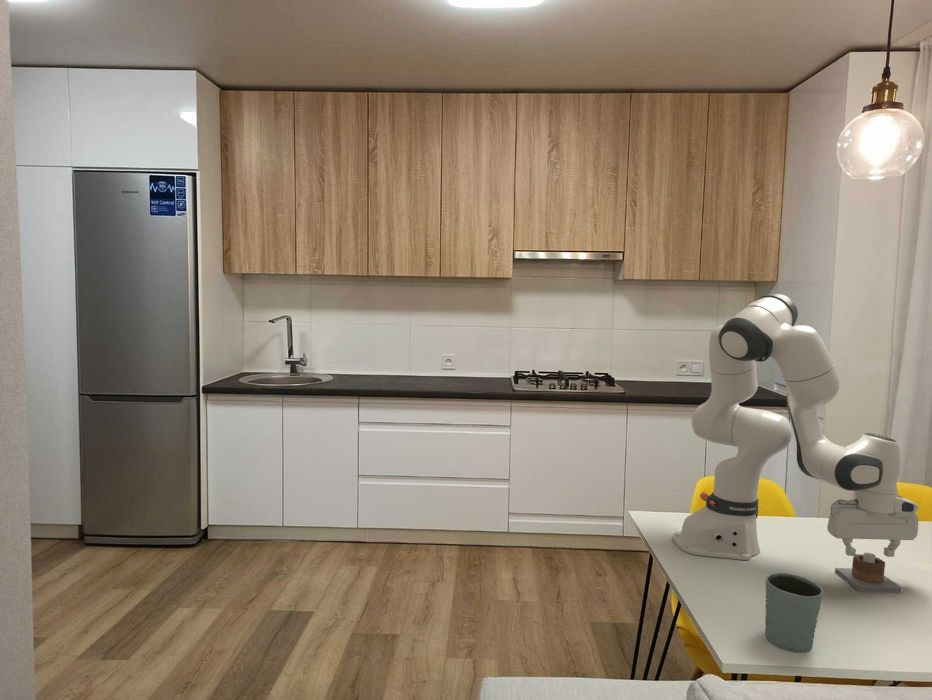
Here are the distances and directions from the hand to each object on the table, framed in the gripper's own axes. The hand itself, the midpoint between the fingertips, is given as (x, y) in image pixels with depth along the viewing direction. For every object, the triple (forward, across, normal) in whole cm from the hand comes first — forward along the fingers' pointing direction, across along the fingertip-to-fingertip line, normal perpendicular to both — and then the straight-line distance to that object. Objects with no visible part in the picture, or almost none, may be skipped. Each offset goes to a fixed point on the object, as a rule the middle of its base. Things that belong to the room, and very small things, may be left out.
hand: (869, 555), depth 155 cm
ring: (+5, 0, 0) cm, 5 cm away
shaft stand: (+7, 0, 0) cm, 7 cm away
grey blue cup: (+7, -34, -28) cm, 44 cm away
